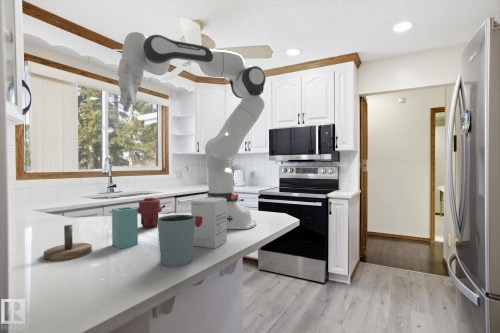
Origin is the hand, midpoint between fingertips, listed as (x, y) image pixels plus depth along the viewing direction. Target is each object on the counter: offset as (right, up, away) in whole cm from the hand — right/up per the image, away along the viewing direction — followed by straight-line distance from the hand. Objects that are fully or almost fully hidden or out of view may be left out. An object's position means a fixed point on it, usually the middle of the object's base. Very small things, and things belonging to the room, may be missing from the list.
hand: (124, 107), depth 102 cm
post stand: (-7, -49, -21) cm, 54 cm away
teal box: (+6, -49, -12) cm, 50 cm away
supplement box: (+34, -48, -12) cm, 61 cm away
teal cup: (+28, -49, -28) cm, 63 cm away
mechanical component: (+5, -49, +13) cm, 50 cm away
